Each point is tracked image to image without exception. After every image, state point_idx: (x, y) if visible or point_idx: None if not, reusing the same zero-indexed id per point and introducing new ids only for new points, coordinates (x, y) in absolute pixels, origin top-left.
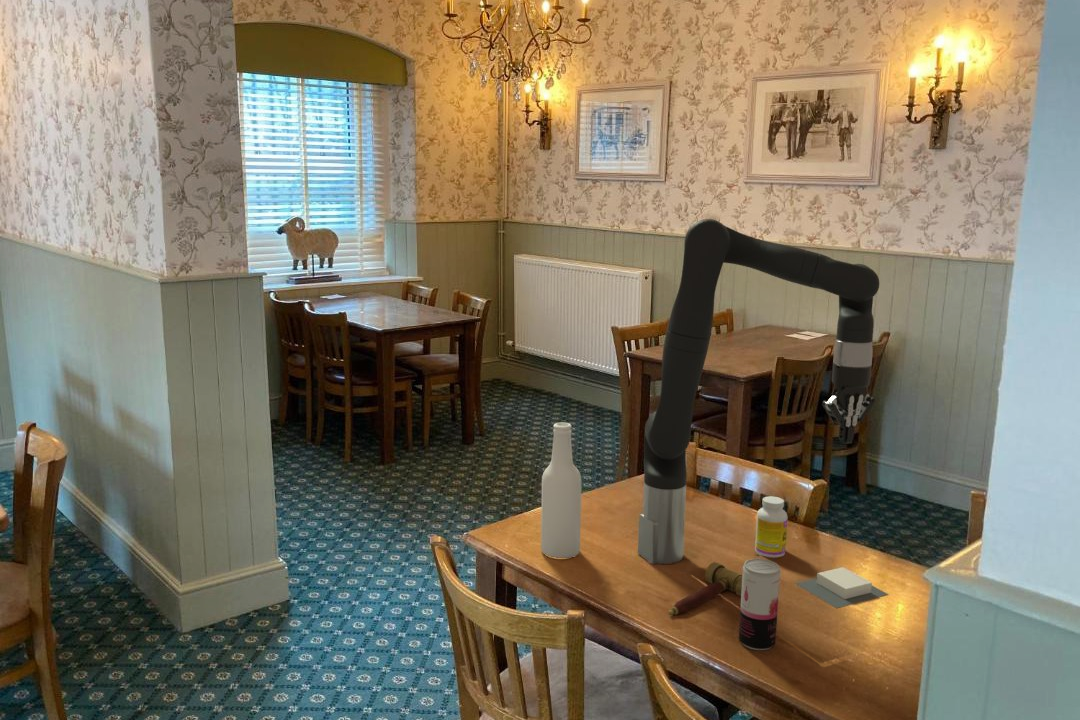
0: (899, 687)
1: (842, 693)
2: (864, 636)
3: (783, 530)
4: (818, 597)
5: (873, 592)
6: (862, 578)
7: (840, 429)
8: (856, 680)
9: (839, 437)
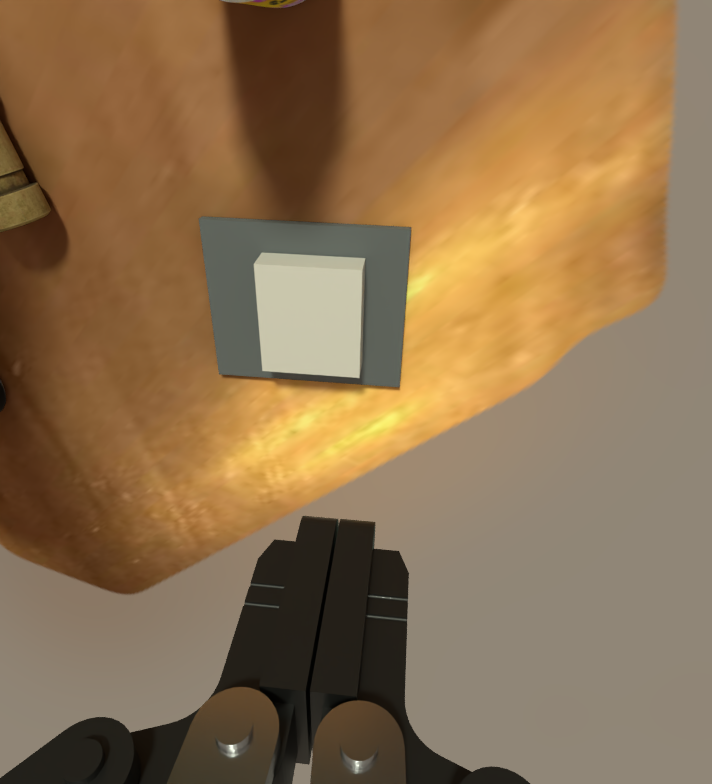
0: (156, 568)
1: (57, 541)
2: (207, 462)
3: (262, 3)
4: (212, 315)
5: (371, 362)
6: (355, 350)
7: (232, 658)
8: (99, 532)
9: (257, 570)
